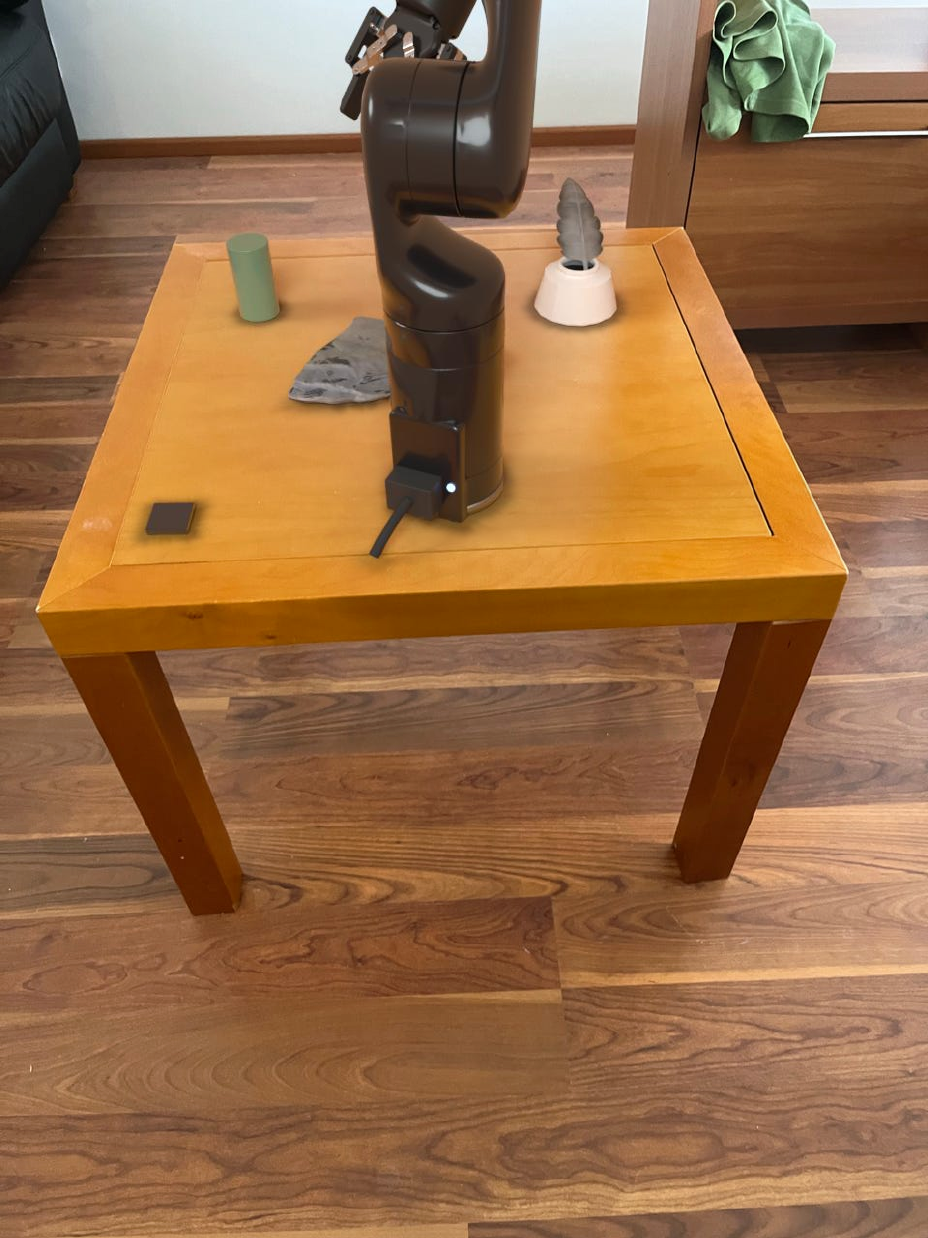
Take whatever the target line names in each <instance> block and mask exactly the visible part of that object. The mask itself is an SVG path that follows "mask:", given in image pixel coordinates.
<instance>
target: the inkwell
mask: <svg viewBox="0 0 928 1238" xmlns="http://www.w3.org/2000/svg"><path fill="white" fill-rule="evenodd" d="M558 200H559V201H558V203H557V205H556V213H557V216H558V217H559V219H557V221H556V223H555V224H556V225H555V226H556V227H555V228H556V230H557V232H558V233H559V235H558V236H556V242H557V244H558V246H560V248H561V250H560V254H562V256H561V257H560V258H559V259H557V260H555V261H552V262H550V263H549V264H548V265H547V266H546V267H545V269H544V271H543V274H542V277H541V280H540V283H539V286H538V289H537V292H536V295H535V298H534V303H533V304H534V305H533V307H534V308H535V311H536V312H537V313H538V314H539V316H540V317H542V318H544V319H545V320H547V321H548V322H550V323H554V324H558V325H562V326H567V327H587V326H593V325H599V324H600V323H602V322H605V321H607V320H610V319H611V317H612V316H613V315H614V314H615V312H616V311H617V310H618V309H617V308H618V307H617V305H618V304H617V297H616V290H615V284H614V278H613V274H612V270H611V269H610V268H609V267H608V266H607V264H605V263H603V262H602V261H599V260H598V259H597V258H598V257H599V256H601V254H602V253H603V251H604V247H603V246H602V244H603V241H604V238H605V237H604V234H603V232H602V231H601V229H602V223H601V219H600V218H599V217H598V216H597V215H596V214H595V213H596V212H595V207H594V205H593V203H592V201H591V200H590V198H589V197H588V196H587V194H586V193H585V191H584V189H583V188H582V187H581V185H580V184H579V183H578V182H577V181H576V180H575V179H573V178H572V177H566V178H565V180H564V182H563V183H562V185H561V188H560V191H559V195H558Z"/></svg>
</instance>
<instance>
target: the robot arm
mask: <svg viewBox="0 0 928 1238" xmlns="http://www.w3.org/2000/svg"><path fill="white" fill-rule="evenodd" d="M477 1H478V0H395V8H394V10H393V12H392V13H391V14H390V15H389V16H388V17H387V15H386V14H384V13H383V12H382V11H380V10H379V9H378V8H377V7H376V6H374V5H373V6H371V7H370V8H369V9H368V11H367V13H366V15H365V17H364V19H363V21H362V22H361V25H360V27H359V29H358V31H357V33H356V34H355V36H354V39H353V40H352V42H351V44H350V47H349V48H348V50H347V52H346V54H345V57H344V61H345V63H346V64H347V65H348V66H349V67H350V69H351V73H352V77H351V80H350V82H349V84H348V85H347V88H346V89H345V91H344V94H343V96H342V98H341V102H340V106H339V111H340V113H341V114H343V115H344V116H345V117H347V118H348V119H350V120H352V121H354V122H355V121H357V120H358V119H359V120H360V121H359V127H360V128H359V129H360V148H361V158H362V165H363V166H362V167H363V175H364V182H365V189H366V197H367V201H368V208H369V210H368V211H369V217H370V223H371V231H372V238H373V246H374V255H375V267H376V273H377V279H378V282H379V285H380V291H381V303H382V313H383V320H384V325H385V337H386V351H387V363H388V376H389V388H390V397H389V399H390V412H389V413H388V422H389V423H388V425H389V432H390V433H389V434H390V445H391V456H392V470H391V471H390V472H389V474H388V475H387V476H386V478H384V488H385V499H386V508H387V509H388V510H392V511H393V512H392V514H391V515H390V517H389V518H388V520H387V521H386V523H385V524H384V526H383V527H382V529H381V531H380V532H379V534H378V535H377V537H376V539H375V541H374V543H373V545H372V547H371V549H370V551H369V553H368V555H370V556H371V557H372V558H375V559H377V560H378V559H380V556H381V554H382V552H383V550H384V549H385V547H386V545H387V543H388V541H389V539H390V538H391V536H392V535H393V534H394V532H395V530H396V528H397V527H398V526H399V524H400V522H401V521H402V520H403V518H404V517H405V516H406V514H407V515H410V516H413V517H417V518H421V519H423V520H428V521H433V520H434V519H435V517H437V518H441V519H445V520H448V521H452V522H455V523H463V522H464V520H465V519H466V517H468V516H469V515H472V514H476V513H477V512H481V511H482V510H485V509H486V508H488V507H490V506H491V505H492V504H493V503H495V501H496V500H498V499H499V497H500V495H501V493H502V491H503V488H504V469H503V454H504V453H503V452H504V445H503V444H504V394H505V393H504V391H505V389H504V388H505V342H506V341H505V337H506V300H507V298H506V297H507V279H506V271H505V267H504V265H503V263H502V261H501V260H500V258H499V257H498V255H496V254H495V253H494V252H493V251H492V250H490V249H489V248H487V247H486V246H484V245H482V244H481V243H478V242H476V241H474V240H473V239H470V238H468V237H466V236H465V235H462V234H461V233H459V232H458V231H456V230H454V229H453V228H451V227H450V226H448V224H446V223H445V222H444V221H443V220H441V218H439V217H447V218H459V219H460V218H461V219H474V220H475V219H476V220H477V219H478V220H493V221H494V220H504V219H506V218H508V217H509V216H511V215H512V214H513V213H514V212H515V210H516V209H517V207H518V206H519V203H520V201H521V200H522V196H523V193H524V189H525V187H526V182H527V178H528V172H529V165H530V160H531V159H530V158H531V151H532V139H533V129H534V128H533V127H534V119H535V118H534V117H535V103H536V89H537V88H536V87H537V74H538V61H539V45H540V34H541V21H542V20H541V19H542V9H543V8H542V7H543V0H481V4H482V7H483V10H484V15H485V21H486V26H487V27H486V28H487V45H486V46H487V47H486V51H485V55H484V57H483V59H482V60H478V61H477V60H468V56H467V55H466V54H464V53H463V51H462V50H461V49H460V48H458V46H456V45H454V43H452V42H451V41H454V40H455V41H456V40H457V39H458V38H459V37H460V35H461V34H462V31H463V29H464V28H465V25H466V23H467V21H468V19H469V18H470V15H471V14H472V11H473V10H474V7H475V5H476V3H477ZM364 46H365V51H364V53H363V54H362V57H360V56H359V55H360V53H361V51H362V50H363V48H364Z"/></svg>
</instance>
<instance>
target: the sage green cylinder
mask: <svg viewBox="0 0 928 1238" xmlns="http://www.w3.org/2000/svg"><path fill="white" fill-rule="evenodd" d="M225 247H226V252H227V257H228V262H229V267H230V271H231V272H230V273H231V277H232V282H233V286H234V292H235V296H236V297H235V298H236V300H237V306H238V311H239V315H240V317H241V318H242V319H243V320H244V321H247V322H251V323H252V322H253V323H262V322H267V321H270V320H272V319H274V318H276V317H277V316H278V315H279V314H280V311H281V308H280V301H279V296H278V290H277V285H276V284H277V283H276V280H275V279H276V278H275V273H274V267H273V261H272V255H271V249H270V243H269V239H268V237H267V236H266V235H264V234H262V233H257V232H245V233H239V234H236V235H233V236H232V237H230V238H228V239H227V240H226V242H225Z"/></svg>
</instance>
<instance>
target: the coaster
mask: <svg viewBox="0 0 928 1238" xmlns="http://www.w3.org/2000/svg"><path fill="white" fill-rule="evenodd" d="M195 510H196V504H195V501H181V502H178V501H177V502H154V503H153V504H152V507H151V510H150V513H149V516H148V519H147V522H146V526H145V528H144V531H145V534H146V535H187V534H189V531H190V527H191V524H192V520H193V517H194V513H195Z"/></svg>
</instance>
